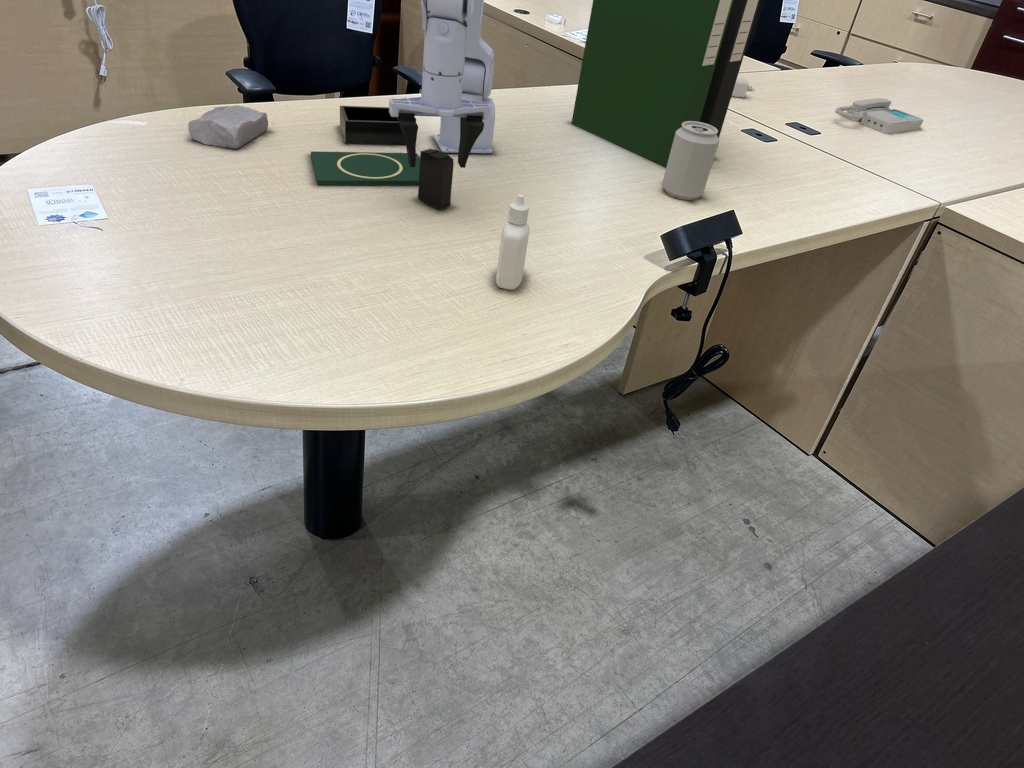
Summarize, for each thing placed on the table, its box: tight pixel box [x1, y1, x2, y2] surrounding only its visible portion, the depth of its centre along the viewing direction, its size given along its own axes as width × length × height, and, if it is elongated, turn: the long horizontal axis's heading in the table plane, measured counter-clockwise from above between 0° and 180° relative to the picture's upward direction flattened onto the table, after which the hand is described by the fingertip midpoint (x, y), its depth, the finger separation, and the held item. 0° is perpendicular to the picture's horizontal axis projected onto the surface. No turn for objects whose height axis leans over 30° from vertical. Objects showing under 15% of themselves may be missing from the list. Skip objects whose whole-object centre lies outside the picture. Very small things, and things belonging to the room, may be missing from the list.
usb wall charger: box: [731, 77, 756, 99], centre depth 190 cm, size 4×7×4 cm, turn 96°
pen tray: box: [339, 105, 406, 146], centre depth 133 cm, size 11×8×4 cm
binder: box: [571, 0, 761, 168], centre depth 142 cm, size 27×15×32 cm, turn 44°
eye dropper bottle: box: [495, 194, 530, 291], centre depth 94 cm, size 4×6×12 cm
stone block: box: [187, 104, 269, 150], centre depth 125 cm, size 12×5×10 cm
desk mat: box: [310, 150, 420, 186], centre depth 121 cm, size 18×12×1 cm, turn 107°
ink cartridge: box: [417, 148, 455, 211], centre depth 112 cm, size 5×2×8 cm, turn 49°
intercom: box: [834, 97, 925, 135], centre depth 185 cm, size 13×4×25 cm
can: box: [661, 121, 720, 201], centre depth 128 cm, size 8×8×12 cm
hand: (436, 165), depth 110 cm, fingers open, 7 cm apart
